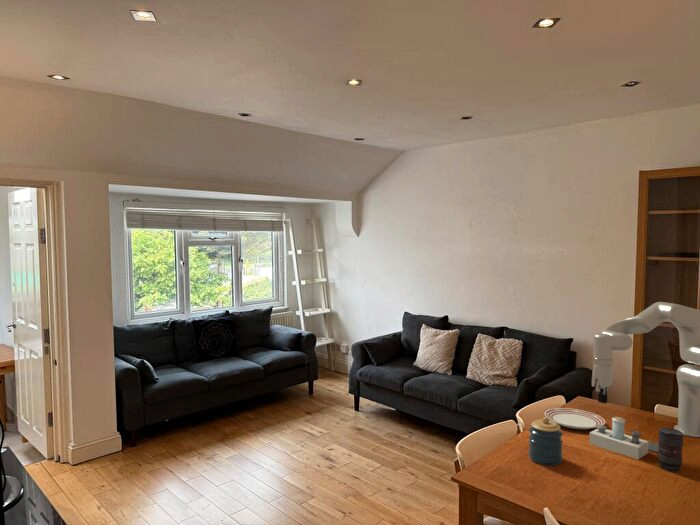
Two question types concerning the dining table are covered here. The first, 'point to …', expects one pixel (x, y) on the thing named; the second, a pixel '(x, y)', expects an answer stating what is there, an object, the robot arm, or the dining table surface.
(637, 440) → the plunger
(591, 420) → the dinner plate
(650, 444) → the mat
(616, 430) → the cartridge
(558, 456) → the canister
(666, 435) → the camera lens
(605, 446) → the housing
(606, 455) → the dining table surface
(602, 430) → the plunger
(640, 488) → the dining table surface
